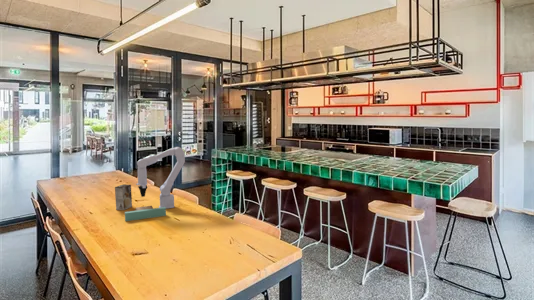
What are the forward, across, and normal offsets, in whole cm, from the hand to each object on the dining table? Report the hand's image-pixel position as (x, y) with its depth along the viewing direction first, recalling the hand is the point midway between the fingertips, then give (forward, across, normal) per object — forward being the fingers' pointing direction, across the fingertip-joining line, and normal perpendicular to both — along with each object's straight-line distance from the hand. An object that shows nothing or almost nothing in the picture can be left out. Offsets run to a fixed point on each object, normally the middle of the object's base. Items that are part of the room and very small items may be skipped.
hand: (143, 196), depth 212 cm
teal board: (+9, +18, -1) cm, 21 cm away
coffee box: (+10, -10, -11) cm, 18 cm away
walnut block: (+10, +13, -1) cm, 16 cm away
